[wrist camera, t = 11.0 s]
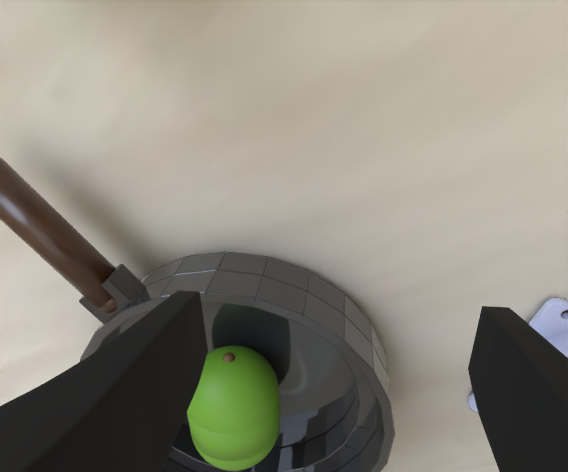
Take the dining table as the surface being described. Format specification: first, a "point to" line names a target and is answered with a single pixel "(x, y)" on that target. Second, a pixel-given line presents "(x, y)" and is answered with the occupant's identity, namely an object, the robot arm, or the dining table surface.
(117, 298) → the pan handle
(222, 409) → the lime
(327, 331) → the pan
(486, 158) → the dining table surface
